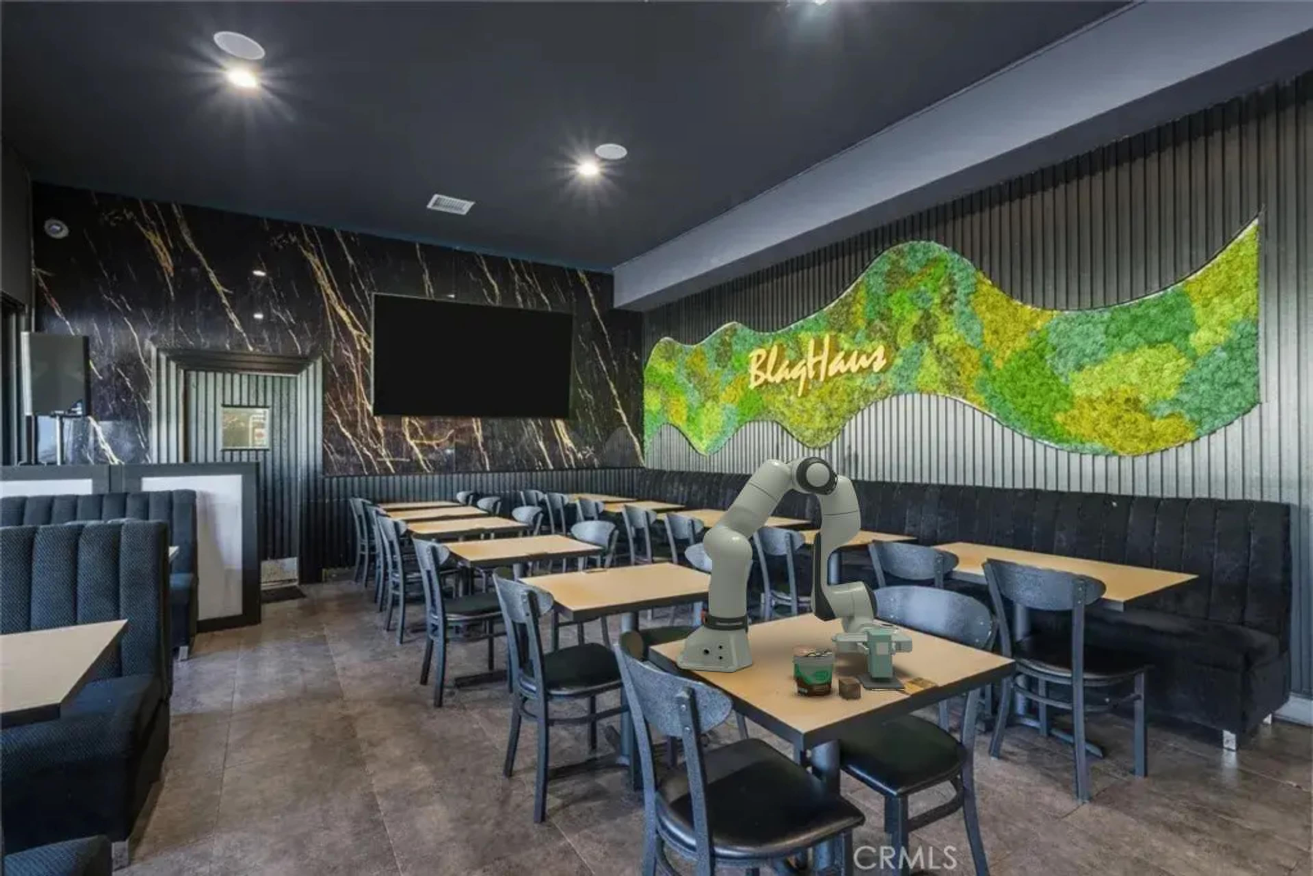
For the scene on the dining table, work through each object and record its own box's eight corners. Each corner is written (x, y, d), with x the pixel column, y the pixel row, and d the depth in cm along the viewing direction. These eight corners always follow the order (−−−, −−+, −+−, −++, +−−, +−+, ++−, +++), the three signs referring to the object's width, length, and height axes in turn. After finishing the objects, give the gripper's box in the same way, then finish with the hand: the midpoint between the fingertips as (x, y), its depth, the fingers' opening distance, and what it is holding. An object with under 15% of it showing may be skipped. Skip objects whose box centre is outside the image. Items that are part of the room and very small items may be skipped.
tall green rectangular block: (873, 677, 169) (872, 635, 169) (868, 670, 174) (866, 629, 174) (892, 677, 169) (891, 635, 169) (886, 670, 174) (885, 629, 174)
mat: (865, 690, 167) (865, 687, 167) (856, 676, 177) (855, 673, 177) (905, 690, 166) (905, 687, 166) (893, 676, 176) (893, 673, 176)
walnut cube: (845, 700, 161) (845, 684, 161) (838, 694, 165) (838, 678, 165) (860, 699, 161) (860, 683, 161) (853, 693, 165) (852, 677, 165)
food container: (809, 702, 160) (808, 661, 160) (793, 693, 165) (792, 654, 165) (846, 692, 165) (845, 653, 166) (830, 684, 171) (829, 646, 171)
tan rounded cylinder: (795, 683, 173) (795, 653, 173) (792, 675, 179) (791, 646, 179) (818, 683, 172) (818, 653, 172) (814, 675, 178) (813, 645, 178)
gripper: (829, 625, 185) (840, 640, 171) (902, 625, 184) (919, 639, 170) (829, 647, 185) (840, 664, 171) (902, 647, 184) (919, 664, 170)
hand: (880, 652), depth 171 cm, fingers closed on tall green rectangular block, 5 cm apart
